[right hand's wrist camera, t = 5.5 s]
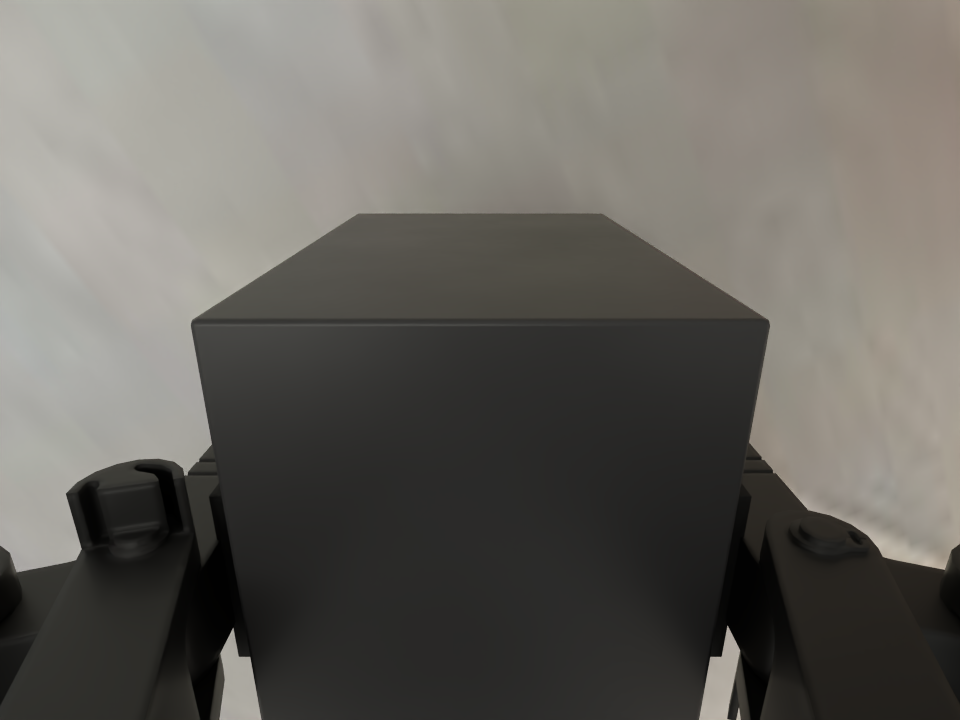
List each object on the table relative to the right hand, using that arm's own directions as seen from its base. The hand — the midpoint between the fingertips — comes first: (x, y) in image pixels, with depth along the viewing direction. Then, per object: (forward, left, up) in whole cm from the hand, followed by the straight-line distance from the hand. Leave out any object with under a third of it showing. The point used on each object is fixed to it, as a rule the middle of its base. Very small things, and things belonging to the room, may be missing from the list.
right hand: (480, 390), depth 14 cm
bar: (0, +9, -1) cm, 9 cm away
